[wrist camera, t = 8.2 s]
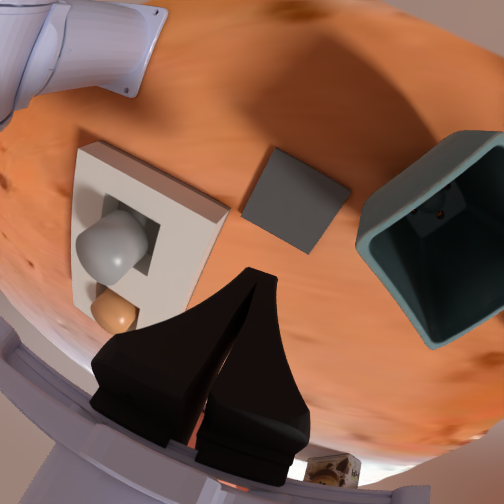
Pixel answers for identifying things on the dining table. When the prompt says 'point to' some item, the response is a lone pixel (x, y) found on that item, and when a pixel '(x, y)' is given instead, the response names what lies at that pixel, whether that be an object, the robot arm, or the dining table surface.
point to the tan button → (113, 312)
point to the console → (155, 225)
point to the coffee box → (334, 471)
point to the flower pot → (442, 236)
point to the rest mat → (294, 201)
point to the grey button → (111, 246)
